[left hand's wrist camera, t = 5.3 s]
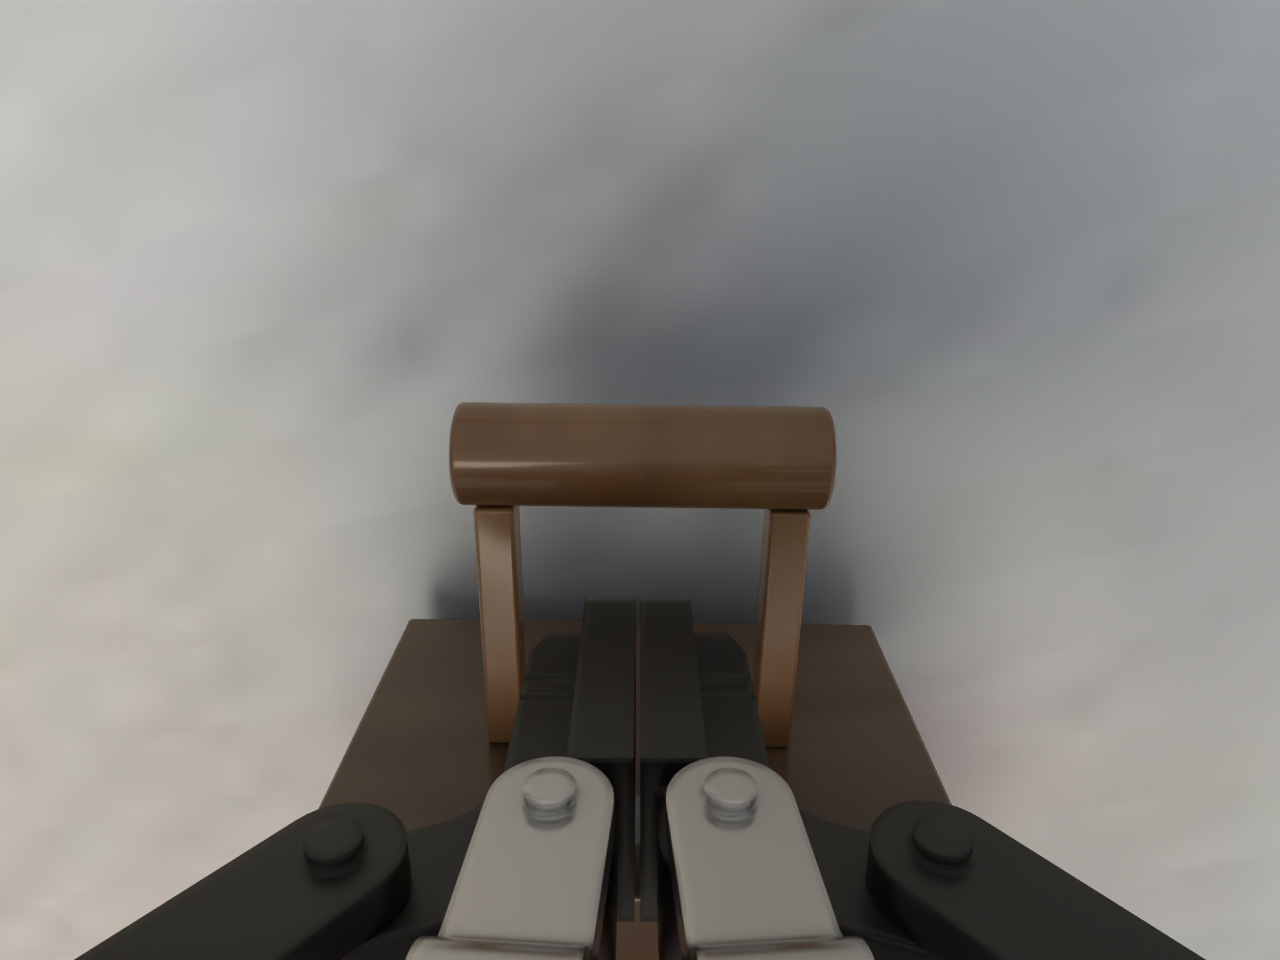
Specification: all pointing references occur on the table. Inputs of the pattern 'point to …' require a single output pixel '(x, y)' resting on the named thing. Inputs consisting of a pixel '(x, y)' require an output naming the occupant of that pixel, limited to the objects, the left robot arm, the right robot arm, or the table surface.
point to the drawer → (501, 640)
